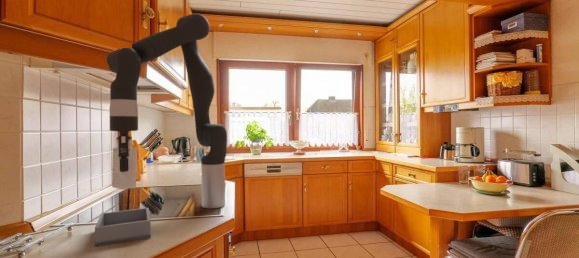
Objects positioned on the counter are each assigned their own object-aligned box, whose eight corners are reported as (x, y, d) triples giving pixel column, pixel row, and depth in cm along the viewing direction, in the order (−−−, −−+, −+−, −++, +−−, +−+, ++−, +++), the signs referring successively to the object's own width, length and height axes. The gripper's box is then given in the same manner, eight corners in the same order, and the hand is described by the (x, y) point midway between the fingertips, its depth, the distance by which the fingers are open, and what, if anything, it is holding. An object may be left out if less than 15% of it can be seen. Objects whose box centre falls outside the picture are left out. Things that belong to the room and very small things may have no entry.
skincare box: (111, 187, 90) (110, 147, 90) (125, 185, 94) (125, 146, 93) (123, 189, 87) (122, 148, 87) (137, 187, 90) (137, 147, 90)
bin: (101, 229, 94) (101, 213, 94) (148, 222, 100) (148, 207, 100) (95, 246, 80) (94, 227, 80) (150, 237, 86) (150, 220, 86)
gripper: (138, 114, 85) (138, 171, 85) (137, 116, 98) (138, 166, 98) (107, 114, 82) (108, 174, 82) (111, 116, 95) (112, 167, 95)
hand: (124, 169), depth 90 cm, fingers closed on skincare box, 7 cm apart
